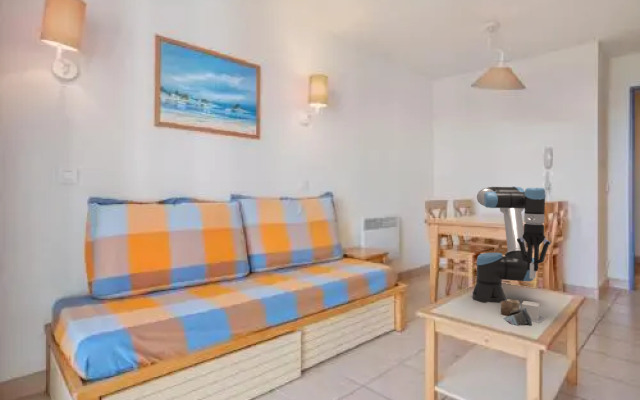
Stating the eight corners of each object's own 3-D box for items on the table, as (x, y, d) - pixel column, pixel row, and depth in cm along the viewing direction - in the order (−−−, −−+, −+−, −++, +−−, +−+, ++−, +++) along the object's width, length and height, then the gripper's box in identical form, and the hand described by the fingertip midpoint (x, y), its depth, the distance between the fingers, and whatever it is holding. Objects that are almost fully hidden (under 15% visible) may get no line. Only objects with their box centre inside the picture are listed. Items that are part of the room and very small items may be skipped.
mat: (513, 318, 159) (513, 317, 159) (521, 313, 166) (521, 311, 166) (539, 324, 152) (539, 323, 152) (547, 319, 159) (547, 317, 159)
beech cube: (506, 312, 167) (506, 301, 167) (506, 309, 172) (507, 299, 171) (518, 314, 165) (519, 303, 165) (518, 311, 169) (519, 300, 169)
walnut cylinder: (499, 315, 163) (499, 302, 163) (502, 313, 166) (503, 300, 166) (509, 318, 160) (510, 304, 160) (513, 315, 163) (513, 302, 163)
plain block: (521, 317, 159) (521, 303, 158) (523, 314, 163) (523, 300, 163) (537, 320, 155) (538, 306, 155) (539, 316, 160) (539, 303, 160)
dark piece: (495, 319, 160) (505, 306, 151) (508, 313, 162) (519, 300, 153) (510, 339, 154) (522, 327, 145) (524, 333, 156) (536, 320, 147)
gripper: (514, 223, 161) (513, 276, 162) (548, 225, 151) (546, 282, 152) (520, 222, 166) (519, 274, 167) (554, 224, 156) (552, 279, 157)
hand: (532, 278), depth 160 cm, fingers closed
